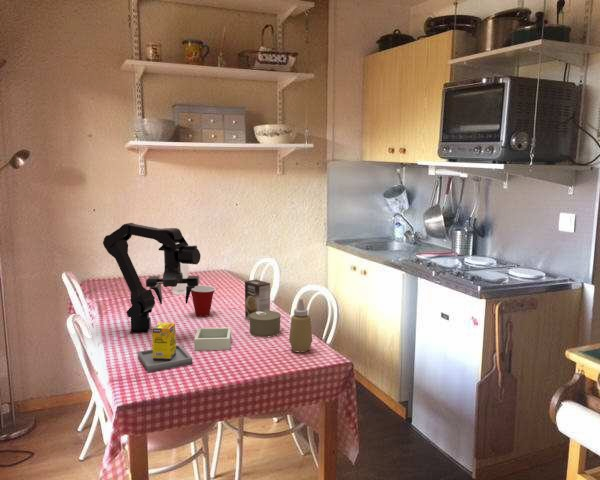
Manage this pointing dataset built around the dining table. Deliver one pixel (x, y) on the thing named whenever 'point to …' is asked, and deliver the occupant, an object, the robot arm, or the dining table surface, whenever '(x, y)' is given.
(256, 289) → the coffee box
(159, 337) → the supplement box
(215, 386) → the dining table surface
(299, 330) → the squeeze bottle
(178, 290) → the bottle
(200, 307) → the plastic cup
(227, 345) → the white square frame
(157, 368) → the tray
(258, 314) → the can
